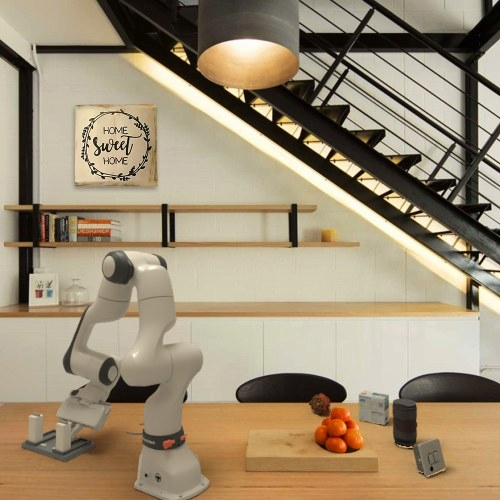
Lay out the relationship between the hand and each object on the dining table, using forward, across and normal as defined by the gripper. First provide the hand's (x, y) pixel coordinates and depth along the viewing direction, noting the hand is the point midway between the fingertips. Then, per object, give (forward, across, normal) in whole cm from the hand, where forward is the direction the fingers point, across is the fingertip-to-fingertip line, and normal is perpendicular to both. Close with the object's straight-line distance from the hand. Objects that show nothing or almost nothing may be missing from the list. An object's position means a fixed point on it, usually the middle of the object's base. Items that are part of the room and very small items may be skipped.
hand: (68, 437), depth 141 cm
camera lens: (-39, -98, -47) cm, 115 cm away
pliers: (-16, -13, -24) cm, 32 cm away
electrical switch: (-28, -107, -36) cm, 116 cm away
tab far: (+4, +14, -1) cm, 15 cm away
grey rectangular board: (+3, +7, -5) cm, 9 cm away
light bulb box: (-51, -84, -60) cm, 114 cm away
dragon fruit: (-50, -61, -58) cm, 98 cm away
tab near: (+4, 0, -1) cm, 4 cm away
